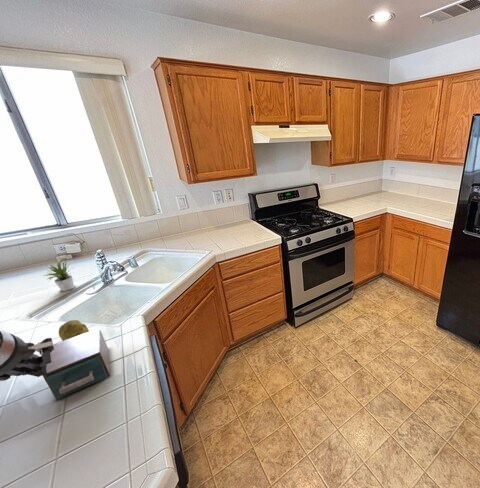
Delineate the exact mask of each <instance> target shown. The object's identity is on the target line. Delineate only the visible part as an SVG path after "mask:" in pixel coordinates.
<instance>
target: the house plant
mask: <svg viewBox="0 0 480 488" xmlns="http://www.w3.org/2000/svg"><path fill="white" fill-rule="evenodd" d="M41 266H43V267H47V268H49V270H48V273H46V274H44V275H42V277H43V278H45V277H47V280H52V279H53V278H54V280H53V282H54V283H55V285H56V286H57V288H59V289H60V291H61V292H67V291H70V290H73V289H74V288H75V283H74V279H73V275H72V274H71V273H68V272H71V270H72V269H74V267H72V268H70V269H69V270H68V268H69V266H70V264H67V261H65V262H64V260H62V266H61V260H60V259H58V260H57V265H56V266H54V265H52V264H50V265H45V264H44V265H41ZM37 271H40V269H38V270H37Z"/></svg>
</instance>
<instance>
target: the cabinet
mask: <svg viewBox="0 0 480 488" xmlns="http://www.w3.org/2000/svg"><path fill="white" fill-rule="evenodd" d="M53 347H54V350H53V351H52V352H51V353H50V355H51V361H52V362H51V363H49V364H47V367H46V371H47V374H45V375H42V376H41V377H43V379H44V381H45V383H46V384H47V386H48V388H49V390H50V391H51V393H52V395H53V396H54V399H55V400H56V401H57V400H58V399H57V397H56V396H55V394H54V392H53V390H52V389H51V387H50V385H49V383H48V382H47V380H46V377H47V376H49V375H51V374H52V373H55V372H57V371H60V370H62V369H65V368H67V367H70V366H72V365H75V364H77V363H80V362H82V361H85V360H87V359H90V358H92V357H95V356H99V358H100V360H101V363H102V365H103V367H104V369H105V371H106V374H107V377H106V378H109V377H111V366H110V350H109V348H108V344H107V343H106V339H105V338H104V335H103V333H102V331H101V329H100V327H98V328H96V329H93V330H92V329H91V330H89V332H87V333H84V334H81V335H78V336H75V337H73V338H70V339H67V340H64V341H63V340H62V341H59V342H56V343H53ZM102 380H103V379H101V380H99V381H98V382H100V381H102ZM91 385H92V384H90V385H88V386H91ZM88 386H87V387H88ZM82 389H83V388H81V389H79V390H82ZM79 390H78V391H79ZM72 393H74V392H72ZM72 393H70V394H69V395H71V394H72ZM64 397H65V396H63V397H61V398H60V399H62V398H64Z"/></svg>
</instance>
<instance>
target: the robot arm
mask: <svg viewBox="0 0 480 488" xmlns="http://www.w3.org/2000/svg"><path fill="white" fill-rule="evenodd" d="M53 344H54V342H53V339H52V337H46V338H45V339H43V340H42V341H39V342H37V343H36V344H34V343H33V342H26V341H24V339H22V338H20V337H19V336H17V335H14V334H13V333H10V332H8V331H6V330H4V329H2V328H0V382H1V381H2V382H4V381H7V380H9V379H11V377H12V376H13V377H21V376H26V375H28V376H32V377H37V378H39V377H43V376H42V375H45V374H47V371H46V367H47V364H49V363H51V362H52V361H51V355H50V353H51V352H52V351H53V350H54V347H53ZM35 352H36V353H39V355H38V354H35Z"/></svg>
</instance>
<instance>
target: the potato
mask: <svg viewBox="0 0 480 488" xmlns="http://www.w3.org/2000/svg"><path fill="white" fill-rule="evenodd" d="M89 331H90V329H89V328H88V327H87V325H86V324H85V323H82V322H81V321H79V320H75V319H73V320H69V321H65V322H64V323H63V324H61V325H60V327H58V336H59V338H60V340H62V341H64V340H67V339H70V338H73V337H75V336H78V335H81V334H84V333H87V332H89Z"/></svg>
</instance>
